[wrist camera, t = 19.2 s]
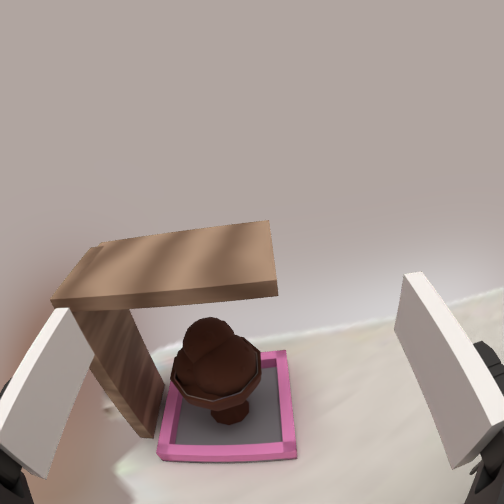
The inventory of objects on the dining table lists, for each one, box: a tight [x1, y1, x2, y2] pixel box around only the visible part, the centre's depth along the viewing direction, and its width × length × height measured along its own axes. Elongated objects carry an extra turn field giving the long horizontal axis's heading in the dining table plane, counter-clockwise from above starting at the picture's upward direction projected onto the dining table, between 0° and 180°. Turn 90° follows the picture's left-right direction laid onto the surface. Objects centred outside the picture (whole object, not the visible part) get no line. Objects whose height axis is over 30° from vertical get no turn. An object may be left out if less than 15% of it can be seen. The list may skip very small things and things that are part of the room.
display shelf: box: [50, 220, 278, 438], centre depth 35 cm, size 20×11×24 cm, turn 90°
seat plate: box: [156, 350, 297, 463], centre depth 39 cm, size 17×17×2 cm
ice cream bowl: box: [170, 317, 262, 425], centre depth 36 cm, size 11×11×15 cm
